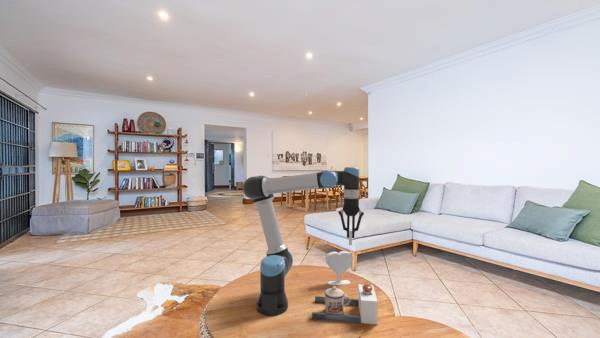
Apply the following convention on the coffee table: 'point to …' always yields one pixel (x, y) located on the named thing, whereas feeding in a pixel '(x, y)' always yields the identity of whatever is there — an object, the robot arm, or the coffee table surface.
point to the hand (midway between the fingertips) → (350, 244)
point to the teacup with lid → (335, 301)
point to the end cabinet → (368, 306)
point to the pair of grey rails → (336, 316)
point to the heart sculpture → (339, 265)
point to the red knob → (367, 289)
